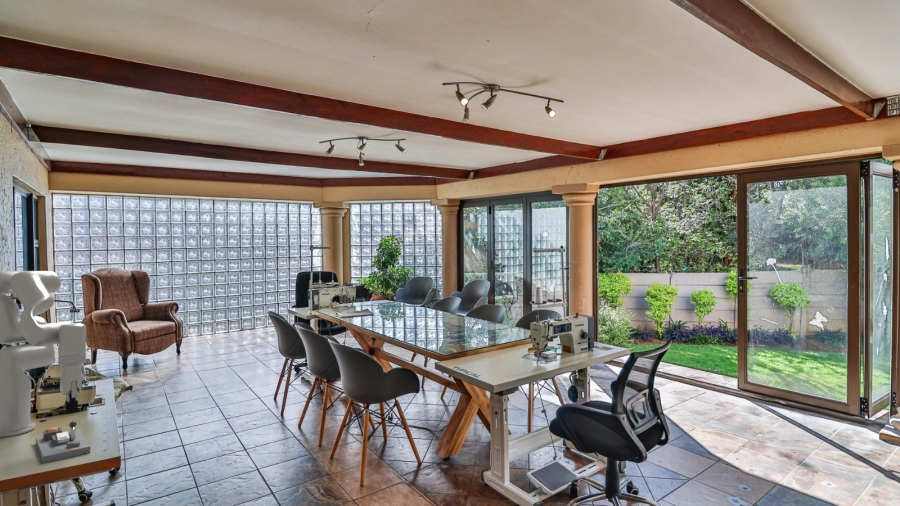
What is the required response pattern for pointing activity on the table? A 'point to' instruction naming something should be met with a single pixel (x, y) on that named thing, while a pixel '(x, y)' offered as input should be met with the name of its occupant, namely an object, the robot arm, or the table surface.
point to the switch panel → (61, 446)
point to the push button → (52, 429)
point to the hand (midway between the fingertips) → (71, 412)
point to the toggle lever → (73, 429)
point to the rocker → (62, 437)
